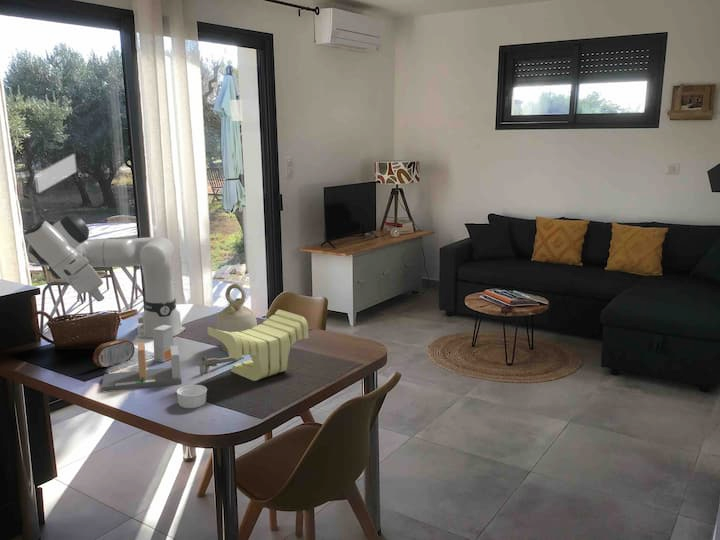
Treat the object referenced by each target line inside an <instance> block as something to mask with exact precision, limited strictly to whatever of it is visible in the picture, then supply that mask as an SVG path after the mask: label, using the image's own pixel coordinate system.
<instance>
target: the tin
mask: <svg viewBox="0 0 720 540" xmlns="http://www.w3.org/2000/svg"><path fill="white" fill-rule="evenodd" d="M134 355H135V344H134V343H133V342H132V341H131V340H129V339H128V338H120V339H119V338H118V339H115V340H112V341H108V342H105V343H101V344H99V345H98V346H97V347H96V348H95V350H94V352H93V356H92V360H93V363H94V364H95V365H96V366H98V367H101V368H103V367H107V368H109V367H108V366H111V367H113V366H112V365H114V366H117V365H120V364H119V363H121V362H124V361H127V362H129V361H130V360H131V359H132V358H133V357H134ZM128 360H129V361H128ZM124 363H125V362H124ZM116 364H117V365H116ZM121 364H122V363H121Z"/></svg>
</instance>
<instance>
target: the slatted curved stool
mask: <svg viewBox="0 0 720 540" xmlns="http://www.w3.org/2000/svg"><path fill="white" fill-rule="evenodd" d="M207 335H209V336H210V337H212V338H214V339H217V340H218V341H219V340H220V341H221V342H222V343H223V344H224V345H225V346H226V348H227V350H228V352H227V353H228V357H232V358H234V359H237V360H238V359H239V358H241V357H244V356H245V357H246V356H248V355H250V357H251V359H250V360H246V361H243V362H241V363H240V362H239V363H237V364H236V363H235V364H232V368H231V370H230V372H232V373H234V374H236V375H238V376H241V377H244V378H246V379H248V380H251V381H254V382H255V381H259V380H262V379H265V378H268V377H272V376H274V375H277V374H280V373H284V372H285V371H287V369H288V360H289V356H290V351H291V346H293V345H294V344H295V343H296V342H297V341H300V340H303V339H305V340H307V339H309V323H308V321H307V319H306V318H305V317H304V316H302V315H299V314H296V313H293V312H289V311H286V310H282V309H279V308H278V309H277V310H276V311H275V312H274V314H272V315H270V317H268V319H265V320H264V321H263V322H262V323H260V324H257V326H256V327H253V328H252V330H251V329H248V330H245V331H241V332H226V331H220V330H217V329H216V328H213V327H210V326H207Z"/></svg>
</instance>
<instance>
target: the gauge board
mask: <svg viewBox="0 0 720 540" xmlns="http://www.w3.org/2000/svg"><path fill="white" fill-rule="evenodd" d="M170 348H171V359H170V363H171V366H169V367H163V368H162V367H161V368H160V367H159V368H149V369H146V380H144V382H142V380H139V370H131V371H120V372H111V373H104V375H103V380H102V383H101V392H102V393H104V392H103V391H106V392H112V391H111V390H115V391H122V390H123V389H124V390H133V388H134V389H141V387H143V388H150V386H152V387H161V386H169V385H177V384H178V385H179V384H182V373H181V367H180V353H179V346H178V345H174V344H173V346H170ZM124 390H123V391H124Z"/></svg>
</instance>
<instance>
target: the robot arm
mask: <svg viewBox="0 0 720 540" xmlns="http://www.w3.org/2000/svg"><path fill="white" fill-rule="evenodd" d="M23 235H24V238H25V239H26V241H27V242H28V244H27V247H26V253H27V256H28V258H29V260H30V261H31V262H32V263H34V264H35V265H37V266H41V267H48V268H46V270H47V271H48V272H50V274H51V276H52V277H53V278H54V279H55V280H58V281H61V282H67V283H68V284H69V285H70V286H71V287H72V289H73V290H74V291H75V293H77V294H79V295H82V294H85V293H87V294H88V295H89V296H90V297H92V298H93V299H94V300H96V302H99V303H100V302H102V301H103V300H104V299H105V296H104V295H103V294H102V292H101V289H99V288H100V287H101V286H102V285H103V284H104V282H103V281H104V280H103V279H102V278H101V276H100V275H99V274H98V273H97V271H96V270H95V269H94V267H96V268H97V267H99V268H129V267H134V266H135V267H137V266H141V269H142V270H141V271H142V274H143V280H144V290H145V291H144V293H145V301H144V311H143V313H142V314H141V317H138V318H137V323H138V325H137V326H136V331H137V336H138V338H146V339H147V338H148V339H153V329H155V328H157V327H159V326H162V325H168V326H173V337H175V336H178V335H179V334H180V333H182V332H184V330H185V331H186V327H185V326H182V319H181V311H179V310H178V309H177V301H176V298H175V287H174V285H175V283H174V281H175V280H174V278H173V273H172V267H171V260H172V258H173V257H174V253H175V246H174V243H173V242H172V241H171V240H170V239H169V238H166V237H164V236H163V237H162V236H153V237H152V236H151V237H148V236H147V237H136V238H98V239H89V237H90V236H89V235H90V229H89V227H88V226H87V224H86V223H85V221H84V220H83V219H81V218H80V217H79V216H78V215H74V214H65V215H63V216H62V217H61V218H60V219H59V220H58V221H57V222H55V223H54V224H53V225H52V224H50V223H49V222H48V221H46V220H39V221H38V222H36V223H34V224H32V225H30V227H29V228H27V230H26V229H25V232H24V234H23Z"/></svg>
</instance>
